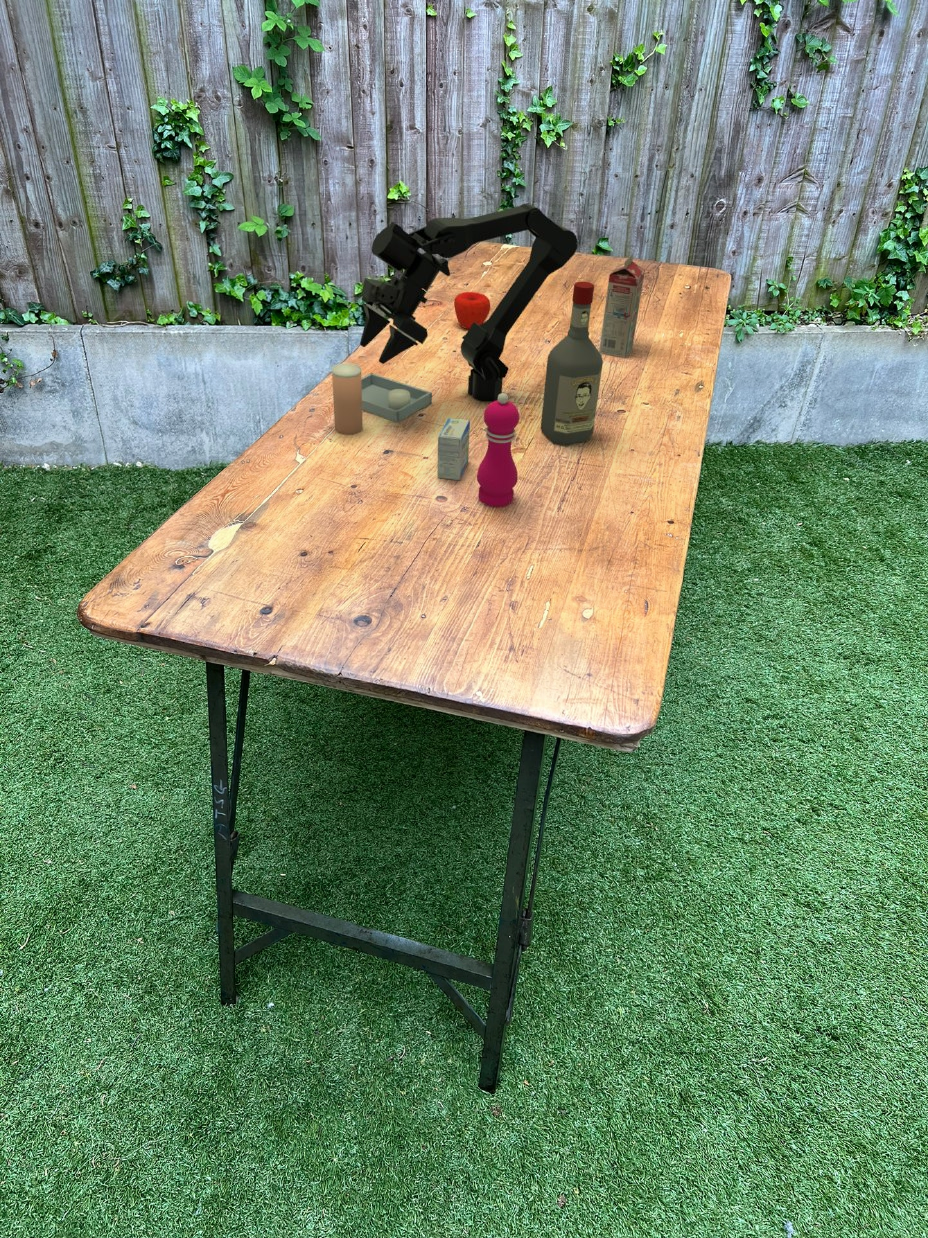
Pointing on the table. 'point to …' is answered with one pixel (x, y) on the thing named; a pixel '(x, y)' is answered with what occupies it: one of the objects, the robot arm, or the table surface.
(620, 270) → the juice carton
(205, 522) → the table surface
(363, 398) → the grey shallow tray
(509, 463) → the pepper mill
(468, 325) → the apple
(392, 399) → the cream dome ball
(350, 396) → the coffee tin
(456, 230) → the robot arm
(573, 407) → the liquor
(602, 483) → the table surface
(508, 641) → the table surface
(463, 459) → the medicine box
